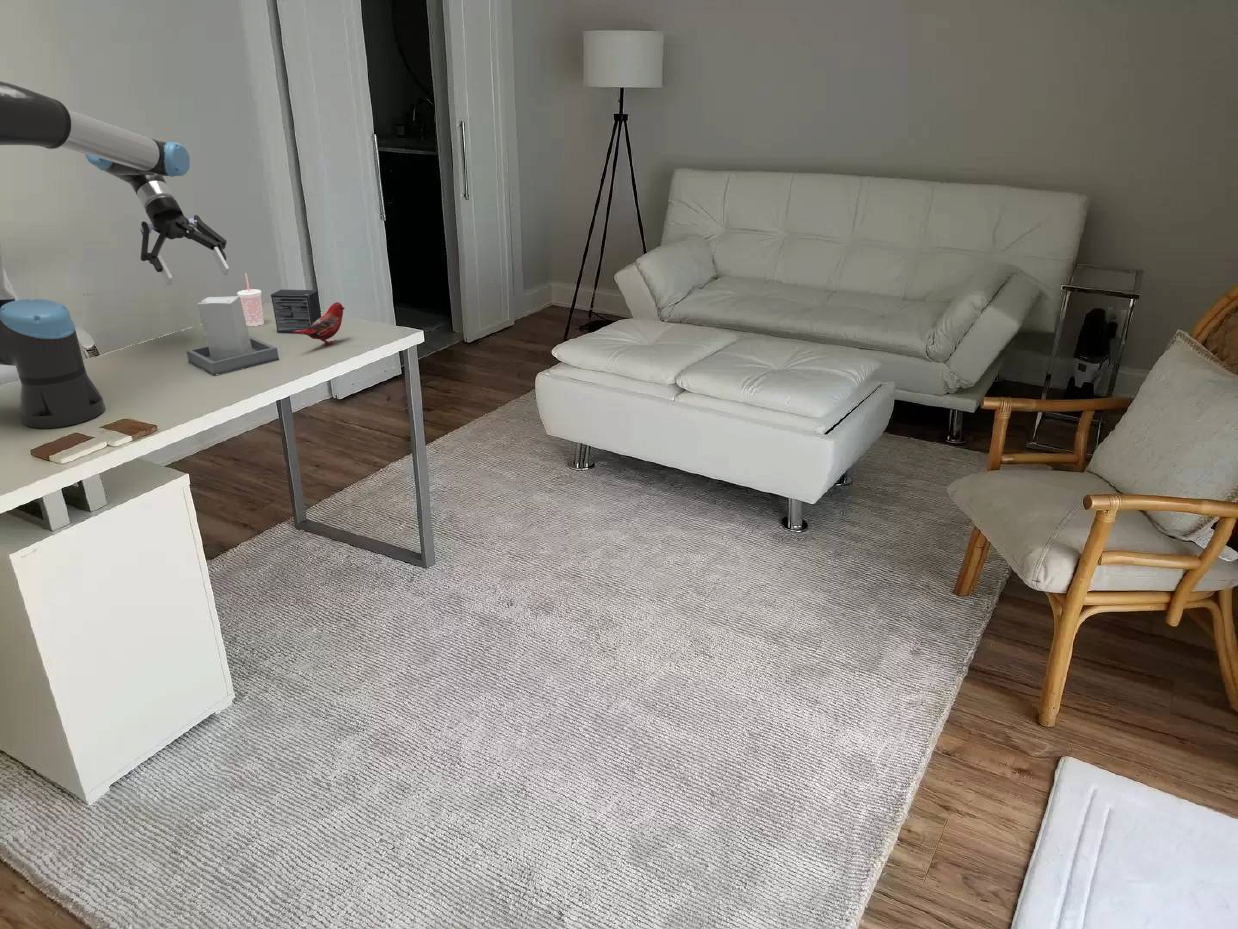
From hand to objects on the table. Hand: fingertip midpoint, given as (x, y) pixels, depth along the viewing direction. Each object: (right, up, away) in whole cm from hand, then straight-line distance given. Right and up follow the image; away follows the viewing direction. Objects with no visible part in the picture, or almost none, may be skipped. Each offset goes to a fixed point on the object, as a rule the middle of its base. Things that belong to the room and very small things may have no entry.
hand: (199, 276), depth 216 cm
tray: (+8, -20, +2) cm, 22 cm away
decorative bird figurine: (+26, -16, +12) cm, 33 cm away
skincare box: (+7, -20, +1) cm, 21 cm away
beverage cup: (+1, -7, +30) cm, 30 cm away
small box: (+16, -9, +25) cm, 31 cm away
